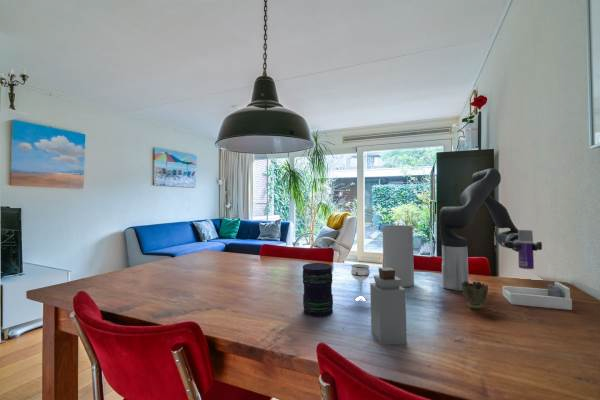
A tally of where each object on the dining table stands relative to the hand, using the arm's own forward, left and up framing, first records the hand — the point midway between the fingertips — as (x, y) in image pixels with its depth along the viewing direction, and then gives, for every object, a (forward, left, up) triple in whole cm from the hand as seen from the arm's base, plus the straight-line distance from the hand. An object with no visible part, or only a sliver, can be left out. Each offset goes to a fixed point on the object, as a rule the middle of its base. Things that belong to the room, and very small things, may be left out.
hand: (527, 247), depth 110 cm
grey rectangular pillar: (-48, -5, -17) cm, 51 cm away
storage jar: (-71, -47, -17) cm, 87 cm away
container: (0, +3, -9) cm, 9 cm away
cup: (-23, -27, -17) cm, 39 cm away
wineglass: (-60, -30, -17) cm, 69 cm away
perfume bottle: (-48, -58, -17) cm, 77 cm away
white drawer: (-3, -14, -17) cm, 22 cm away
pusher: (+3, -14, -16) cm, 22 cm away
